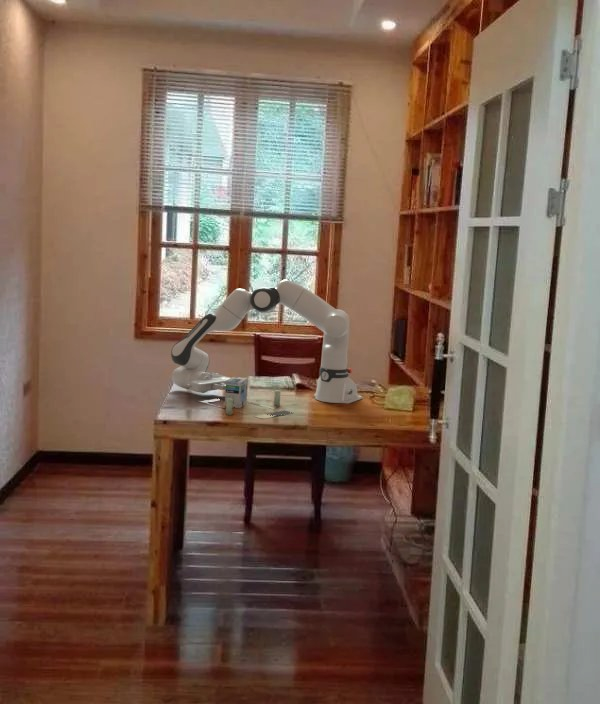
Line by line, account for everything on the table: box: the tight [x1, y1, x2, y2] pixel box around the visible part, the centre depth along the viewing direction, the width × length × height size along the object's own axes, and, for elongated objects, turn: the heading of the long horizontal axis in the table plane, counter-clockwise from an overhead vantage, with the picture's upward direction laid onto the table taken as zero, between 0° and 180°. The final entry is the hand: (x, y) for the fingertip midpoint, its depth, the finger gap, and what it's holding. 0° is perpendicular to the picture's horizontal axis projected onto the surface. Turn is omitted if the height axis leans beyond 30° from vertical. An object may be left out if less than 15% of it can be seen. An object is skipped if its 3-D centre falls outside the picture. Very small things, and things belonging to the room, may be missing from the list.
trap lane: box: [216, 389, 293, 417], centre depth 321 cm, size 30×38×6 cm
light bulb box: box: [224, 376, 249, 409], centre depth 323 cm, size 11×7×11 cm, turn 168°
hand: (225, 387), depth 328 cm, fingers closed
